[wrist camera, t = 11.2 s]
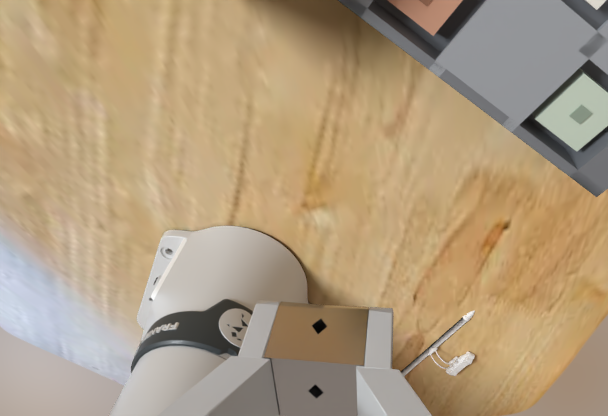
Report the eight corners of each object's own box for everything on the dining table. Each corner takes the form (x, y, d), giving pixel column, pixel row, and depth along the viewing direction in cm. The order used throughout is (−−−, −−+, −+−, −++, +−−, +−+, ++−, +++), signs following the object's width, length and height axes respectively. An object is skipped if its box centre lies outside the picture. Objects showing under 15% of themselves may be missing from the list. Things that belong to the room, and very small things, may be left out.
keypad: (576, 162, 41) (596, 197, 36) (335, -23, 36) (326, -9, 32) (753, 15, 33) (806, 37, 29) (478, -243, 28) (492, -263, 24)
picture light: (471, 306, 51) (473, 321, 50) (505, 324, 52) (509, 340, 50) (393, 375, 59) (393, 391, 57) (424, 390, 60) (424, 406, 58)
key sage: (571, 142, 37) (577, 152, 35) (530, 110, 36) (535, 119, 34) (619, 100, 34) (628, 109, 33) (577, 66, 34) (584, 74, 32)
